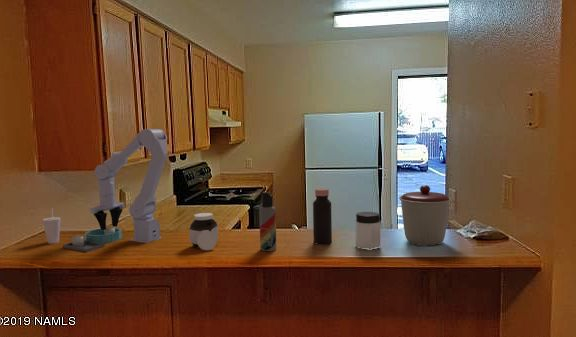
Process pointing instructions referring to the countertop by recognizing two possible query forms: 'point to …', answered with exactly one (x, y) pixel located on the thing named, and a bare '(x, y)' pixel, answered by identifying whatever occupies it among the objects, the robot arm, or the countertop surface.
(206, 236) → the spread jar
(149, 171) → the robot arm
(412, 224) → the canister
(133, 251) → the countertop surface
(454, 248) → the countertop surface
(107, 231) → the pale stone
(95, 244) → the parts tray
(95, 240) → the bowl
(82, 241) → the white pebble
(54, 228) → the smoothie
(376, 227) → the jar
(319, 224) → the vinegar
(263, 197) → the lotion bottle
